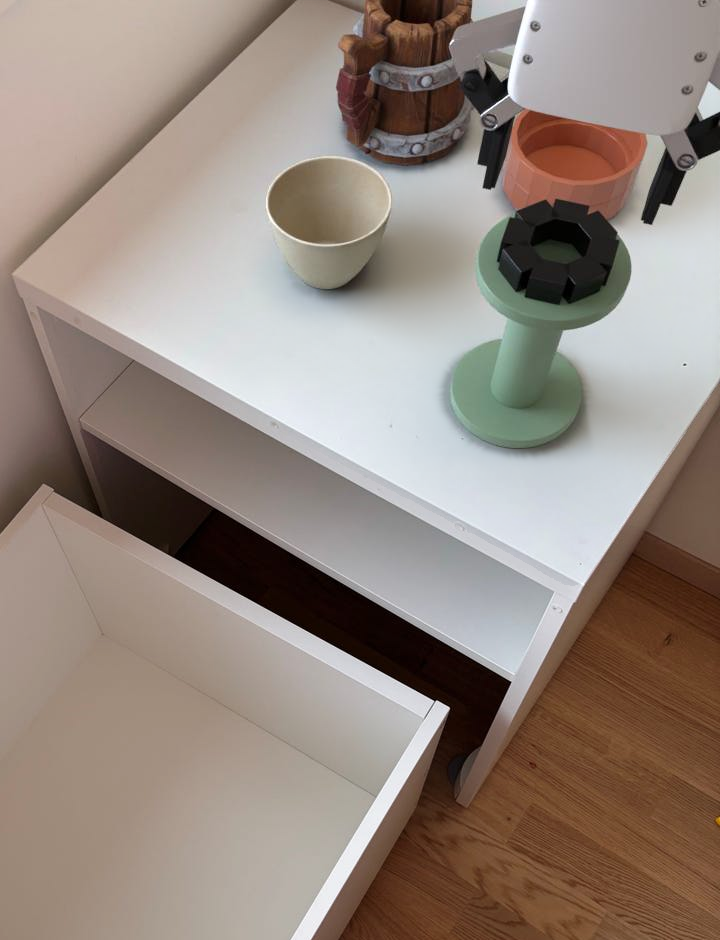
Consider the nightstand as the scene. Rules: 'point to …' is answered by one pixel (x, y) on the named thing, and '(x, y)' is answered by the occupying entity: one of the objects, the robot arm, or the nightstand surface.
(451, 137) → the mug
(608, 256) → the ring
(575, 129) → the bowl
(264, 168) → the nightstand surface
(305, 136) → the nightstand surface
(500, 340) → the stand
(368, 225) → the flower pot
